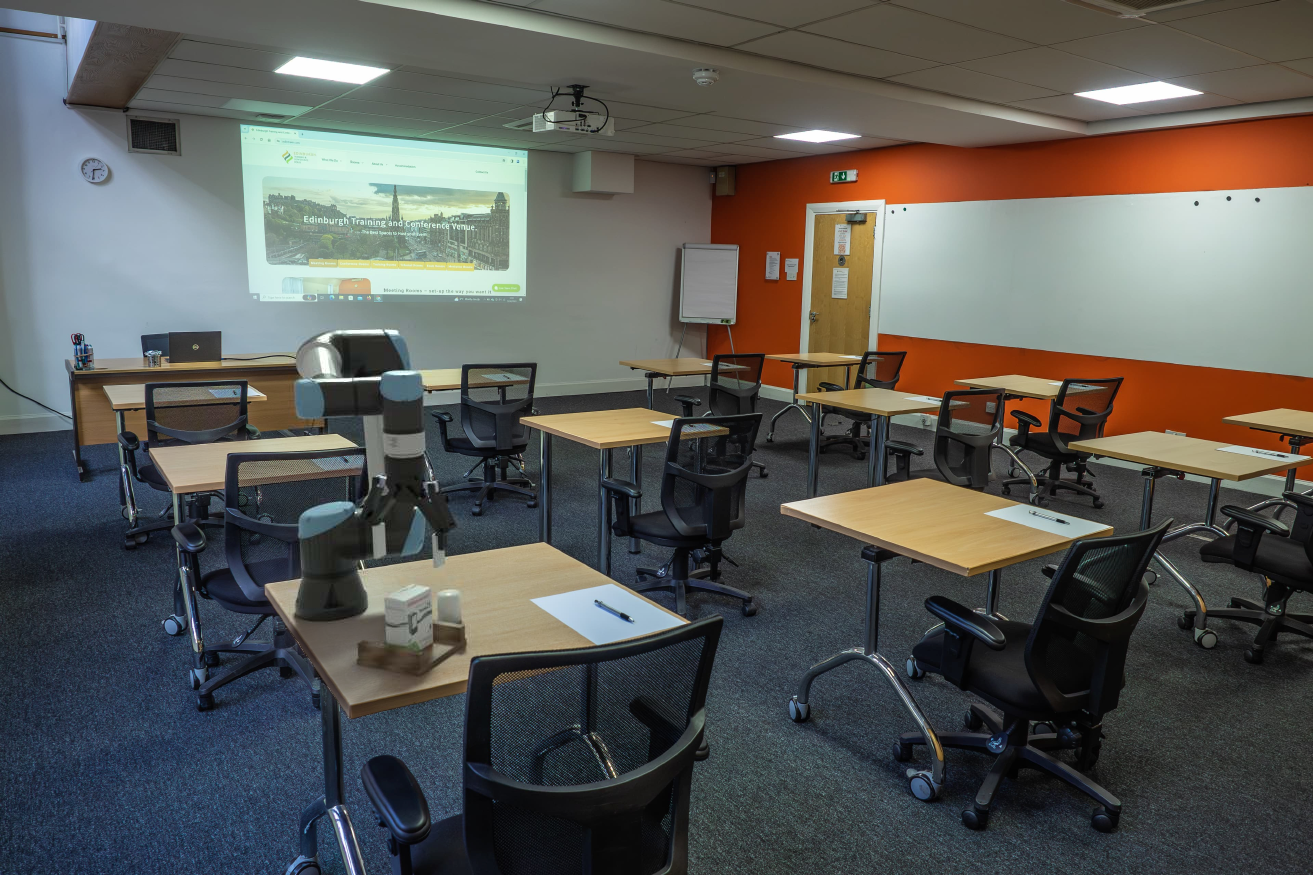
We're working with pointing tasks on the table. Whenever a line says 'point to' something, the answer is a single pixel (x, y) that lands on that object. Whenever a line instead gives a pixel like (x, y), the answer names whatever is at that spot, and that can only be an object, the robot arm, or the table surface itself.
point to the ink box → (409, 617)
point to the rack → (413, 651)
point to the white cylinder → (449, 606)
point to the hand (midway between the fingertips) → (409, 561)
